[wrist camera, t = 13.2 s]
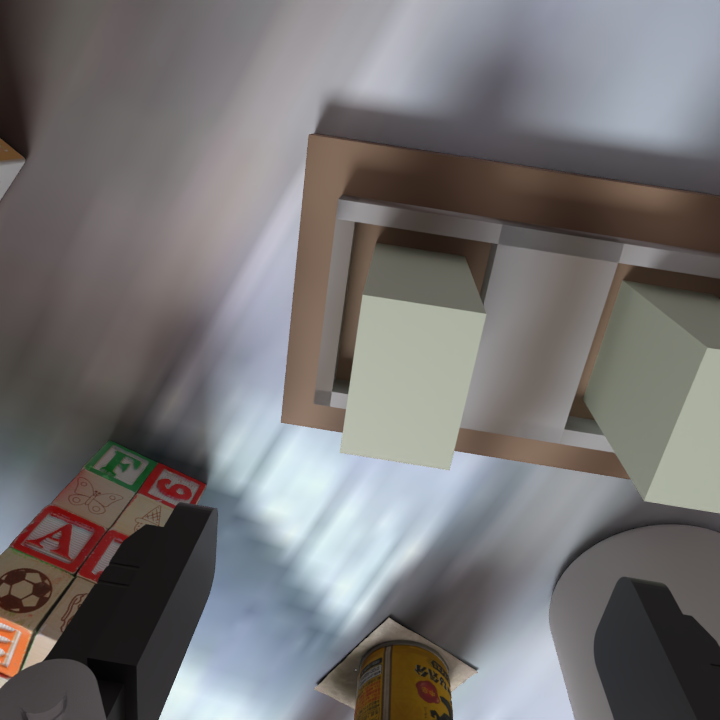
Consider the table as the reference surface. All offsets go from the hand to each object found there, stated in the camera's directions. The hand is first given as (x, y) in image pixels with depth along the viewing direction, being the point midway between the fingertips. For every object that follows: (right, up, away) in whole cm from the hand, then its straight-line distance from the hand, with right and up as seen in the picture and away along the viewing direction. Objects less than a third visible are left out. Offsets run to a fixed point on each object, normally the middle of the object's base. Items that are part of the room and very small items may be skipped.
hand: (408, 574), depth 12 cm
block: (+12, +5, +15) cm, 20 cm away
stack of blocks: (-17, -10, +26) cm, 33 cm away
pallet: (+7, +6, +17) cm, 19 cm away
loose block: (+1, +6, +15) cm, 17 cm away
